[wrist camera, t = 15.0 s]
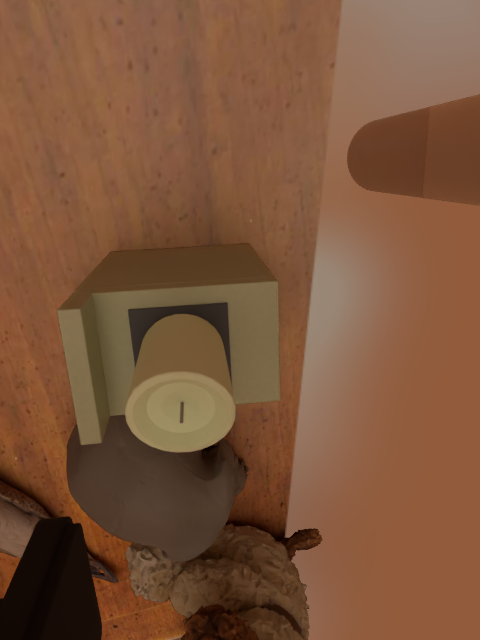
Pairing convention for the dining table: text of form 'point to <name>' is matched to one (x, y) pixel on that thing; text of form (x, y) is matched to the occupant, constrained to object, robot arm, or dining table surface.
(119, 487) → the skull
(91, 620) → the robot arm
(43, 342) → the dining table surface
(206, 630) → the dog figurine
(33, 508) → the bird model
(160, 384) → the candle
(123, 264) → the beige box
